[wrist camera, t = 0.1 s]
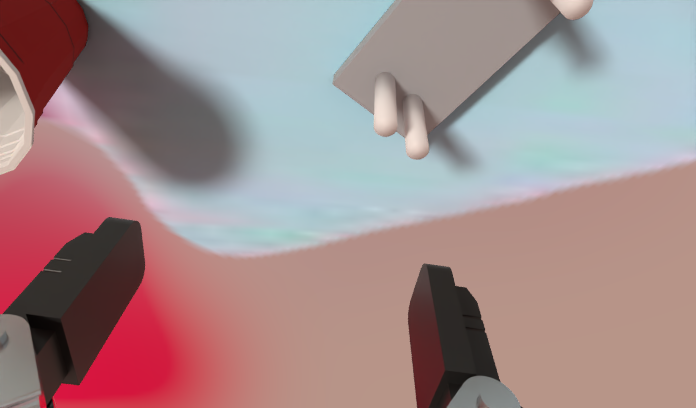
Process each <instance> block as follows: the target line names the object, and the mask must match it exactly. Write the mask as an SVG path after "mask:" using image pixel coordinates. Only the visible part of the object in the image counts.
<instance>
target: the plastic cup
mask: <svg viewBox="0 0 696 408" xmlns="http://www.w3.org/2000/svg"><path fill="white" fill-rule="evenodd" d="M87 38H88V23H87V20H86V17H85V14H84V11H83V9H82V8H81V6H80V5H79V3H78V2H77V0H0V175H1V174H4V173H7V172H9V171H12V170H14V169H15V168H16V166H17V165H18V164H19V163H20V162H21V160H22V159H23V158H24V156H25V155H26V154H27V152H28V151H29V150H30V149H31V147H32V145H33V141H34V128H35V126H36V125H37V120H38V119H39V118H40V116H41V115H42V113H43V109H44V107H45V106H46V104H47V103H48V102H49V100H50V99H51V97H52V96H53V94H54V93H55V91H56V90H57V89H58V87H59V86H60V84H61V83H62V81H63V80H64V78H65V77H66V76H67V74H68V73H69V71H70V70H71V68H72V67H73V63H74V61H75V60H76V58H77V57H78V56H79V54H80V53H81V51H82V50H83V49H84V47H85V46H86V41H87Z"/></svg>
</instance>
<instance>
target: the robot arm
mask: <svg viewBox="0 0 696 408" xmlns="http://www.w3.org/2000/svg"><path fill="white" fill-rule="evenodd" d="M144 270H145V258H144V250H143V242H142V233H141V226H140V223H139V222H138V221H133V220H126V219H119V218H112V217H109V218H107V219H106V220H105V221H104V222H103V223H102V224H101V225H100V226H99V228H98V229H97V230H96V231H95V232H94V234H92V233H83V234H81V235H80V236H78V237H76V238H75V239H73V240H71V241H69V242H68V243H66V244H65V245H64V246H63V248H62V249H61V250H60V251H59V252H58V253H57V254H56V255H55V256H54V260H51V261H50V262H49V263H48V264H47V265H46V266H45V267H44V270H43V271H41V272H40V273H39V274H38V275H37V276H36V277H35V279H34V280H33V281H32V282H31V283H30V284H29V285H28V286H27V287H26V289H25V290H24V291H23V292H22V293H21V294H20V295H19V296H18V297H17V299H16V300H15V301H14V302H13V303H12V304H11V305H10V306H9V307H8V309H7V310H6V311H5V312H4V313H3V314H0V408H56V406H55V401H54V398H53V396H54V394H55V393H56V391H57V389H58V388H59V386H60V385H61V383H64V384H73V385H80V383H81V381H82V380H83V378H84V377H85V375H86V373H87V372H88V370H89V368H90V367H91V365H92V363H93V362H94V360H95V359H96V357H97V355H98V353H99V352H100V350H101V349H102V347H103V345H104V344H105V342H106V340H107V339H108V337H109V335H110V334H111V332H112V330H113V329H114V327H115V325H116V324H117V322H118V320H119V319H120V317H121V316H122V314H123V312H124V311H125V309H126V307H127V305H128V304H129V302H130V301H131V299H132V297H133V295H134V294H135V292H136V290H137V289H138V287H139V286H140V284H141V282H142V279H143V276H144ZM408 325H409V334H410V344H411V354H412V363H413V373H414V382H415V390H416V401H417V408H522V407H521V406H520V404H519V402H518V400H517V398H516V397H515V395H514V394H513V393H512V391H510V389H509V388H507V387H506V386H505V385H504V384H502V383H501V382H500V379H499V376H498V373H497V369H496V366H495V362H494V359H493V356H492V352H491V349H490V345H489V342H488V338H487V335H486V333H485V328H484V324H483V321H482V320H481V314H480V311H479V307H478V303H477V301H476V300H475V299H474V297H473V296H472V295H471V294H470V292H469V291H468V289H467V288H465V287H458V286H455V283H454V278H453V274H452V271H451V269H450V267H444V266H438V265H430V264H423V266H422V268H421V270H420V273H419V277H418V279H417V282H416V285H415V288H414V292H413V295H412V298H411V301H410V305H409V312H408Z"/></svg>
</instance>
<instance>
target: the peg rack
mask: <svg viewBox="0 0 696 408" xmlns="http://www.w3.org/2000/svg"><path fill="white" fill-rule="evenodd" d="M592 4H593V0H395V1H394V3H393V4H392V5H391V6H390V7H389V9H388V10H387V11H386V12H385V14H384V15H383V16H382V17H381V18H380V20H379V21H378V22H377V23H376V24H375V26H374V27H373V28H372V29H371V31H370V32H369V33H368V34H367V35H366V37H365V38H364V39H363V40H362V41H361V43H360V44H359V45H358V46H357V48H356V49H355V50H354V51H353V52H352V54H351V55H350V56H349V57H348V58H347V60H346V61H345V62H344V63H343V65H342V66H341V67H340V68H339V69H338V71H337V72H336V73H335V74H334V78H333V85H334V86H336V87H337V88H338V89H340V90H341V91H342V92H344V93H345V94H347V95H348V96H349V97H351V98H352V99H353V100H355V101H356V102H357V103H359V104H360V105H361V106H363V107H364V108H365V109H367V110H368V111H369V112H371V113H372V114H373V115H374V130H375V132H376V133H377V134H378V135H380V136H384V137H387V136H391V135H393V134H394V133H395V132H398V133H399V134H400V135H402V136H403V137H404V138H405V142H406V153H407V155H408V156H409V157H410V158H412V159H422V158H424V157H425V156H427V154H428V152H429V145H428V138H427V135H428V134H429V133H430V132H431V131H432V130H433V129H434V128H435V127H436V126H438V125H439V124H440V123H441V122H442V121H443V120H444V119H445V118H446V117H447V116H448V115H449V114H451V113H452V112H453V111H454V110H455V109H456V108H457V107H458V106H459V105H460V104H461V103H463V102H464V101H465V100H466V99H467V98H468V97H469V96H470V95H471V94H472V93H473V92H474V91H476V90H477V89H478V88H479V87H480V86H481V85H482V84H483V83H484V82H485V81H486V80H488V79H489V78H490V77H491V76H492V75H493V74H494V73H495V72H496V71H497V70H498V69H499V68H501V67H502V66H503V65H504V64H505V63H506V62H507V61H508V60H509V59H510V58H511V57H513V56H514V55H515V54H516V53H517V52H518V51H519V50H520V49H521V48H522V47H523V46H524V45H526V44H527V43H528V42H529V41H530V40H531V39H532V38H533V37H534V36H535V35H536V34H538V33H539V32H540V31H541V30H542V29H543V28H544V27H545V26H546V25H547V24H548V23H549V22H551V21H552V20H553V19H554V18H555V17H556V16H557V15H558V14H559V13H560V12H561V13H562V14H563V15H564V16H565V17H566V18H567V19H570V20H576V19H579V18H581V17H583V16H584V15H586V14H587V13H588V12H589V10H590V9H591V7H592Z"/></svg>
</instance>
